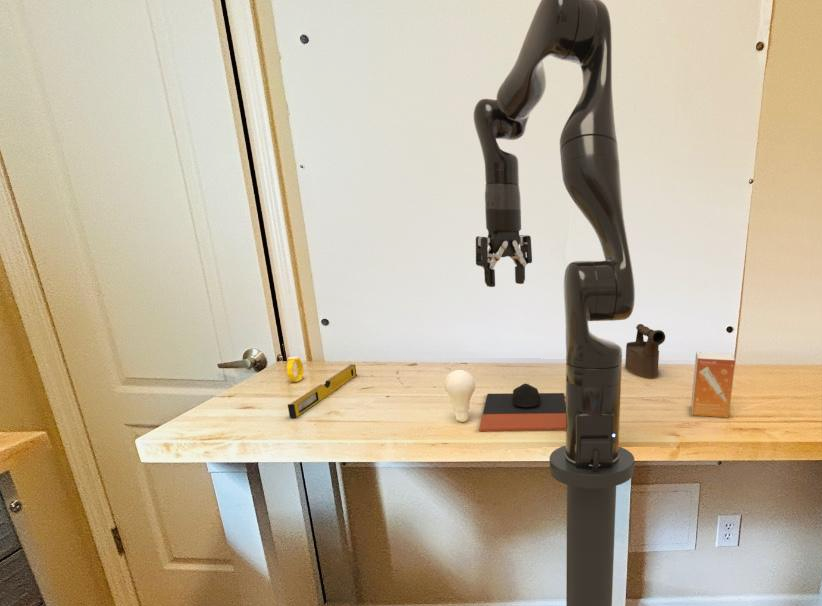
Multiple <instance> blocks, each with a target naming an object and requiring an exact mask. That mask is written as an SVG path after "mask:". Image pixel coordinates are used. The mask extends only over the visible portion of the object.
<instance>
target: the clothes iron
mask: <svg viewBox="0 0 822 606" xmlns="http://www.w3.org/2000/svg"><path fill="white" fill-rule="evenodd" d="M635 329H636V331H637V332H636V337H635V341H629V342H626V346H625V363H624V368H625V370H627V371H628V372H629V373H632V374H633V375H635V376H637V377H642V378H645V379H655V378H657V377H658V376H659V362H660V361H659V359H660V350H659V347H660V345H662V344H664V343H665V340H666V334H665V331H663V330H661V329H655V330H654V329H651V328H650V327H649V326H645V325H644V324H642V323H638V324H637V325H636V326H635ZM644 336H646V337H647V339H646V340H645V339H644Z"/></svg>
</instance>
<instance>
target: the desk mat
mask: <svg viewBox="0 0 822 606" xmlns="http://www.w3.org/2000/svg"><path fill="white" fill-rule="evenodd" d="M512 394H513V392H511V393H487V395H486V399H485V403H484V407H483V411H482V416H481V420H480V424H479V430H478V431H479V432H522V431H523V432H524V431H525V432H531V431H533V432H534V431H535V432H537V431H566V397H565V393H564V392H539V394H540V398H541V403H540V405H538V406H534V407H526V408H524V407H517V406H514V405H513V404H512Z"/></svg>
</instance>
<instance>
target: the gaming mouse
mask: <svg viewBox="0 0 822 606" xmlns="http://www.w3.org/2000/svg"><path fill="white" fill-rule="evenodd" d="M512 393H513V394H512V404H513V405H514V406H517V407H524V408H526V407H534V406H538V405H540V403H541V398H540V394H539V393H540V392H539V390H538V388H537V387H535V386H533V385H530V384H529V383H523V384H521V385H519V386H517V387H515V388H514V389H513V390H512Z"/></svg>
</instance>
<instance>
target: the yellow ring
mask: <svg viewBox="0 0 822 606" xmlns="http://www.w3.org/2000/svg"><path fill="white" fill-rule="evenodd" d="M286 360H287V363H286V374H287V377H288V380H289V381H290V382H291V383H297V382H299V381H301V380H303V377H304V366H303V362H302V361H301V356H295V355H294V356H289V357H287V358H286ZM294 364H295V365H296V370H297V371H296V372H297V373H296V376H295V375H294Z"/></svg>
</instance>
